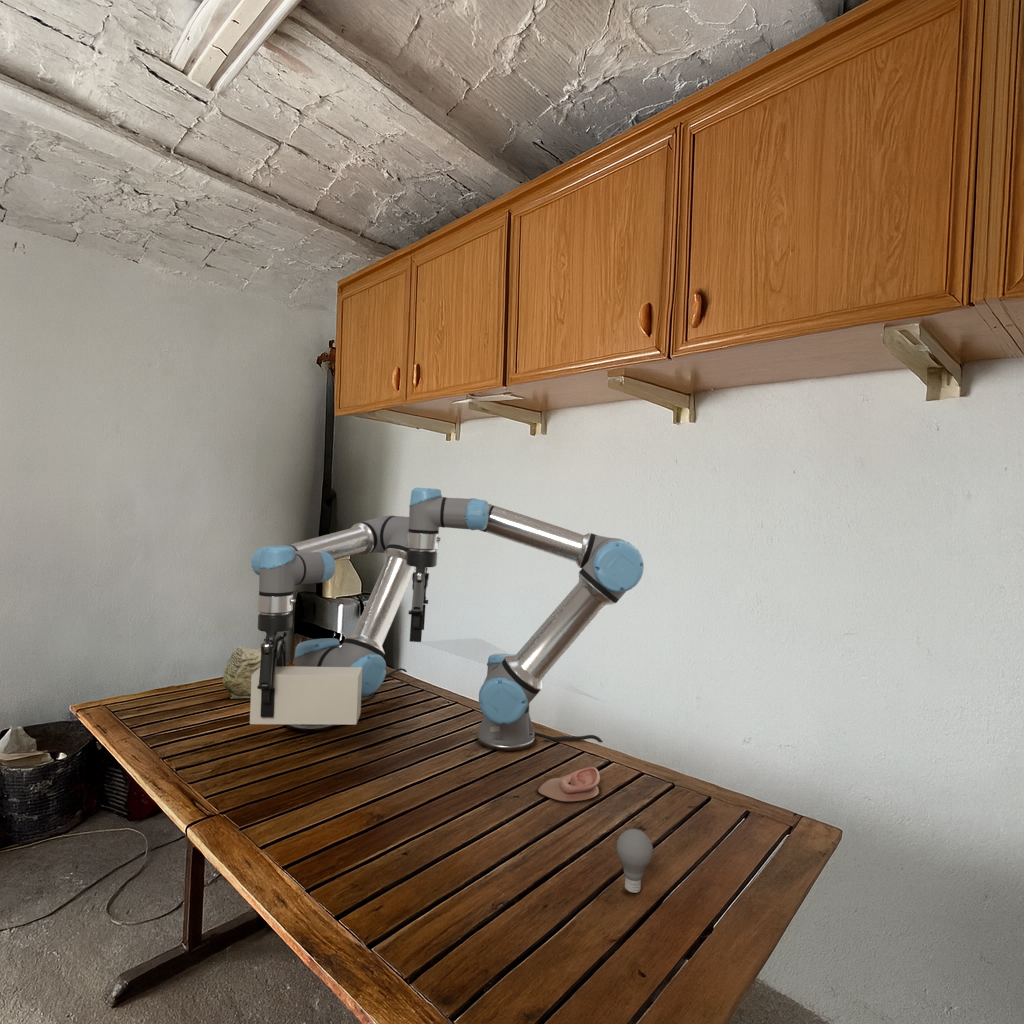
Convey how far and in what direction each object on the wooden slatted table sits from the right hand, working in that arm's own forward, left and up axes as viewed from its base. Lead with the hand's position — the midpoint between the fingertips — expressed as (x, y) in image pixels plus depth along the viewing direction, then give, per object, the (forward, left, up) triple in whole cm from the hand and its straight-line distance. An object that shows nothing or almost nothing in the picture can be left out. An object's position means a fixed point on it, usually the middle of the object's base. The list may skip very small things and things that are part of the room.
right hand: (417, 635), depth 157 cm
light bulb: (-16, +67, -30) cm, 75 cm away
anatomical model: (-26, +32, -30) cm, 51 cm away
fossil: (+31, -61, -30) cm, 75 cm away
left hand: (+33, -5, -17) cm, 37 cm away
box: (+25, -2, -19) cm, 32 cm away
